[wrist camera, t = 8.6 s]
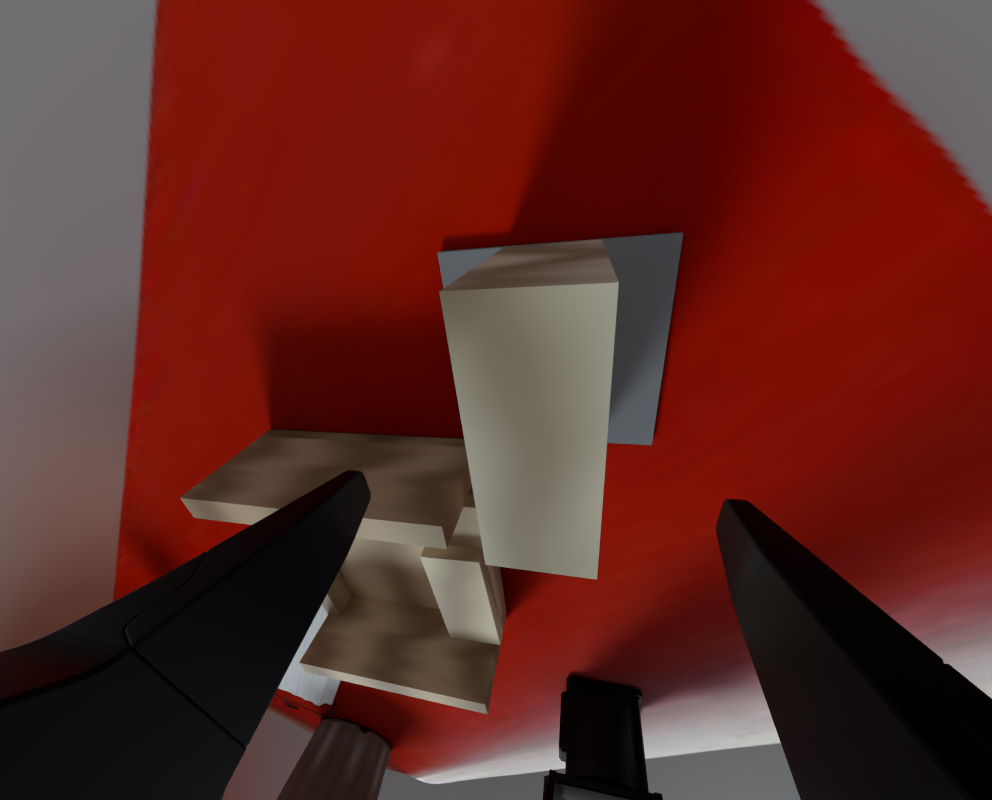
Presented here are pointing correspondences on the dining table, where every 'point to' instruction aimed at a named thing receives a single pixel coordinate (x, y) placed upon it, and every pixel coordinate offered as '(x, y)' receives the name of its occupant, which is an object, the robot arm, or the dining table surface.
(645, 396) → the felt pad
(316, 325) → the dining table surface
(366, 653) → the rack
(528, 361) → the beige wooden block
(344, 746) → the plant pot
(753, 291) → the dining table surface
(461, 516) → the offcut stack
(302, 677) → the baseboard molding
